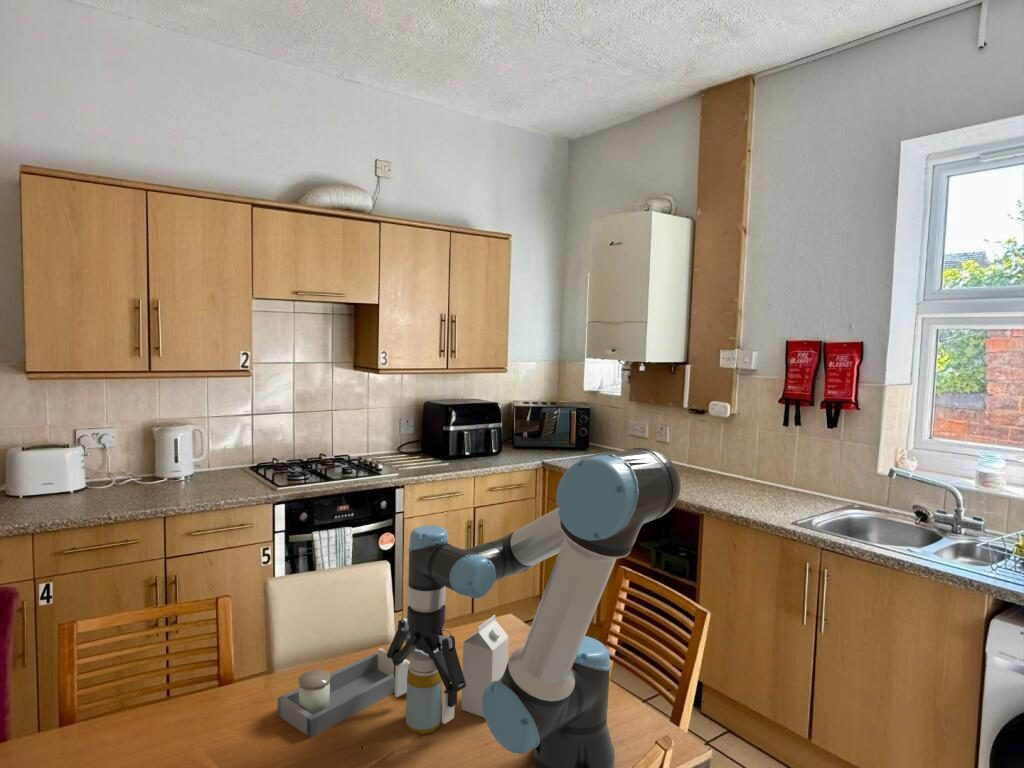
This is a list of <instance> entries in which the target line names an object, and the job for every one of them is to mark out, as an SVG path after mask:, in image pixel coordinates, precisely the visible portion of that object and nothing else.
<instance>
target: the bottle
mask: <svg viewBox="0 0 1024 768" xmlns="http://www.w3.org/2000/svg"><path fill="white" fill-rule="evenodd" d="M438 651H439V650H438V648H437V649H436V650H435V651H433V652H434V653H436V652H438ZM409 669H410V670H409V672H408V675H407V692H406V704H405V705H406V706H405V711H406V712H405V724H406V727H407V728H408V729H409V730H410V731H414V732H416V733H417V734H418V735H428V734H431V733H433V732H434V733H435V731H436V730H437V729H438V728H439V727H440V726H441V723H442V699H443V681H442V679H441V677H440V675H439V672H438V670H437V668H436V666H435V664H434V661H433V660H432V659H430V658H429V655H428V654H426V653H424V652H423V651H422V650H418V649H414V650H412V651H411V653H410V667H409Z"/></svg>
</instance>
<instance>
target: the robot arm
mask: <svg viewBox="0 0 1024 768" xmlns="http://www.w3.org/2000/svg"><path fill="white" fill-rule="evenodd" d="M680 491H681V479H680V474H679V471H678V469H677V467H676V465H675V464H674V462H673V461H672V460H671V459H670V458H669V457H668V456H666V455H665V454H664V453H662V452H661V451H659V450H656V449H653V448H650V447H634V448H630V449H626V450H620V451H615V452H612V453H611V452H610V453H596V454H593V455H589V456H588V457H585V458H583V459H580V460H578V461H576V462H575V463H573V464H571V465H570V466H569V467H568V469H567V470H566V471H564V473H563V475H562V476H561V478H560V480H559V482H558V485H557V490H556V496H555V501H556V502H555V503H556V505H557V506H558V507H556V508H555V509H553V510H551V511H550V512H547V513H545V514H544V515H542V516H539V517H538V518H536V519H534V520H533V521H531V522H528V523H527V524H525V525H523V526H522V527H519V528H517V529H516V530H515V531H512V532H510V533H509V534H507V535H504V536H503V537H501V538H498V539H495V540H492V541H488V542H485V543H482V544H481V543H480V544H478V545H475V546H471V547H468V548H460V547H457V546H454V545H452V544H449V537H448V536H449V535H448V531H447V530H446V528H444V527H442V526H438V525H424V526H423V525H422V526H418V527H416V528H413V530H412V531H411V532H410V535H409V546H408V549H407V550H408V577H407V578H408V583H407V585H408V586H407V605H408V606H407V610H406V611H407V613H406V615H407V616H406V617H403V618H401V619H400V620H398V622H397V630H396V633H395V634H394V636H393V638H392V641H391V644H390V646H389V647H388V650H387V651H388V652H387V657H388V658H391V659H392V661H393V664H394V678H395V693H394V697H396V698H399V697H400V696H402V695H404V694H407V672H408V662H407V661H404V662H403V660H405V659H407V658H406V657H407V656H408V655H409V654H410V653H411V651H412V650H414V648H415V647H416V649H418V650H422V651H423V652H424V653H426V654H428V655H429V658H430V659H432V660H433V661H434V664H435V666H436V668H437V670H438V672H439V675H440V677H441V679H442V684H443V685H444V689H442V700H441V723H442V724H444V725H445V724H447V723H449V722H450V721H452V720H454V718H455V708H456V707H455V706H456V705H457V704H458V703H457V702H458V692H459V691H462V689H463V688H465V687H466V682H465V679H464V676H463V668H462V666H461V663H460V659H459V655H458V653H457V649H456V638H455V636H453V635H451V636H450V635H449V636H450V637H449V636H445V635H444V634H443V631H442V629H444V628H443V627H444V624H445V622H446V605H445V604H446V593H447V592H446V591H447V589H448V590H449V589H450V590H451V591H454V592H455V593H457V594H458V595H461V596H464V597H469V598H472V599H481V598H483V597H485V596H486V595H487V593H488V592H489V591H491V590H492V589H493V587H494V584H495V582H497V581H500V580H502V579H505V578H508V577H511V576H513V575H516V574H517V575H518V574H521V573H523V572H526V571H527V570H529V569H531V568H533V567H534V566H535V565H537V564H538V563H540V562H543V561H546V560H547V559H549V558H551V557H554V556H555V555H557V554H558V555H557V557H556V559H555V563H554V564H553V567H552V570H551V573H550V576H549V578H548V581H547V583H546V586H545V589H544V591H543V594H542V597H541V600H540V602H539V604H538V607H537V609H536V612H535V616H534V618H533V621H532V623H531V626H530V629H529V631H528V634H527V636H526V639H525V642H524V645H523V646H520V647H517V648H515V650H513V652H512V653H511V655H510V656H509V657H508V664H507V666H506V669H505V672H504V674H503V676H502V677H501V679H499V680H498V681H493V682H492V683H491V684H490V685H489V686H488V687H487V688H486V689H485V691H484V693H483V697H482V709H483V714H484V717H485V718H484V717H483V718H484V720H485V722H486V726H487V727H488V729H489V731H490V733H491V734H492V737H493V738H494V739H495V741H497V743H498V744H499V745H500V746H502V748H504V749H505V750H507V751H508V752H509V753H513V754H517V755H523V754H526V753H527V752H530V751H531V750H533V761H534V765H535V767H536V768H615V759H616V758H615V757H616V755H615V753H616V752H615V748H614V745H613V741H612V738H611V735H610V734H611V733H610V730H609V726H608V709H609V707H608V706H609V704H608V703H609V688H610V687H609V686H610V671H611V664H610V663H611V662H610V660H611V659H610V656H611V655H610V651H609V650H608V648H607V646H606V645H604V643H603V642H600V641H599V640H597V639H595V638H593V637H590V636H588V635H586V634H587V632H588V630H589V627H590V625H591V622H592V620H593V617H594V614H595V612H596V610H597V607H598V605H599V603H600V601H601V598H602V595H603V593H604V591H605V588H606V586H607V583H608V581H609V579H610V576H611V573H612V571H613V569H614V566H615V564H616V563H617V559H622V558H626V557H627V556H628V555H630V553H631V551H632V549H633V547H634V545H635V542H636V541H637V537H638V535H639V532H640V530H641V528H642V527H643V526H644V524H646V523H649V522H651V521H655V520H657V519H659V518H661V517H663V516H665V515H667V513H669V512H670V511H671V510H672V509H673V508H674V507H675V505H676V504H677V501H678V499H679V496H680ZM409 632H410V635H411V638H410V639H409V640H408V641H407V642H406V643H405V639H406V637H407V635H408V633H409ZM404 643H405V644H404ZM436 649H439V651H438V652H436V653H434V652H433V651H435V650H436Z"/></svg>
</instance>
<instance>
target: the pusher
mask: <svg viewBox="0 0 1024 768" xmlns="http://www.w3.org/2000/svg"><path fill="white" fill-rule="evenodd" d="M387 652H388V650H387V649H385V648H383V647H380V648H378V649H377V654H378V670H379V671H381V672H382V673H384V674H386V675H388V676H390V675H392V674H394V664H393V661H392V659H391V658H388V657H387ZM404 661H407V662H408V669H409V667H410V661H408V660H406V659H405V660H403V662H404ZM409 670H410V669H409Z"/></svg>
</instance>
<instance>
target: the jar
mask: <svg viewBox="0 0 1024 768" xmlns="http://www.w3.org/2000/svg"><path fill="white" fill-rule="evenodd" d="M330 673H331V672H329V671H326V670H324V669H312V670H308V671H306V672H303V673H302V674H301V675H300V676H299V677H298V679H297V680H298V688H299V706H300V707H301V708H303V709H304V710H306V711H307V712H309V713H311V714H312V715H313V714H315V713H317V712H319V711H321V710H323V709H325V708H327V707H329V706H330Z"/></svg>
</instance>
